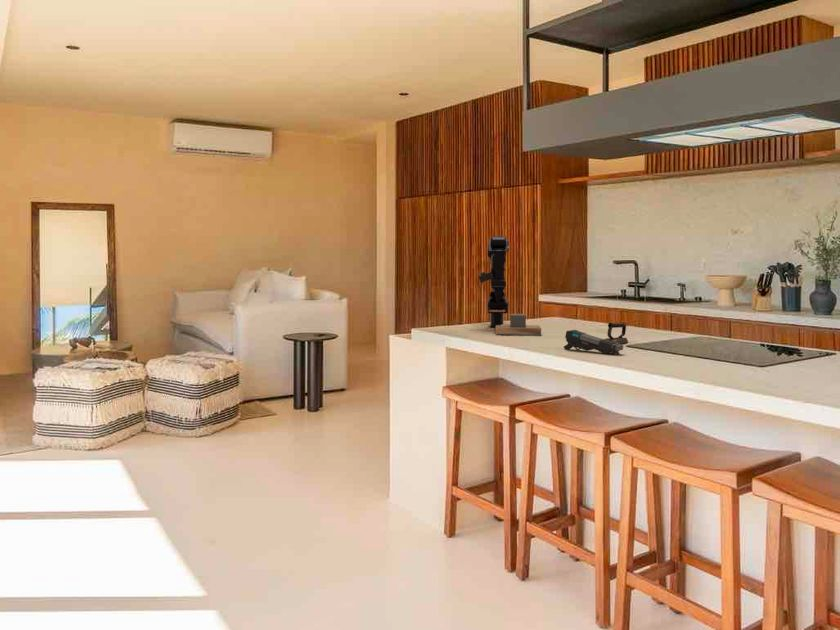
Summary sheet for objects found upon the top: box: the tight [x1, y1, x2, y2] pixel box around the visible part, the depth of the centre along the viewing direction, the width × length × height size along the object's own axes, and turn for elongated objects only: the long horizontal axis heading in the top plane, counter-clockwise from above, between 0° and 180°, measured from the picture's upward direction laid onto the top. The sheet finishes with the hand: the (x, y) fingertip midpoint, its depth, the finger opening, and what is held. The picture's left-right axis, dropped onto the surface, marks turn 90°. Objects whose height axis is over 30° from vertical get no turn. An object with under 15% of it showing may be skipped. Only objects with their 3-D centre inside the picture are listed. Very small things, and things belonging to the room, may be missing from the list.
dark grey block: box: [509, 313, 527, 328], centre depth 300 cm, size 6×6×7 cm
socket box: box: [495, 324, 542, 337], centre depth 300 cm, size 11×18×4 cm, turn 85°
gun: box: [563, 329, 625, 356], centre depth 251 cm, size 4×20×10 cm, turn 50°
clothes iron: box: [606, 321, 629, 345], centre depth 273 cm, size 7×11×10 cm, turn 128°
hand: (497, 302), depth 312 cm, fingers closed
